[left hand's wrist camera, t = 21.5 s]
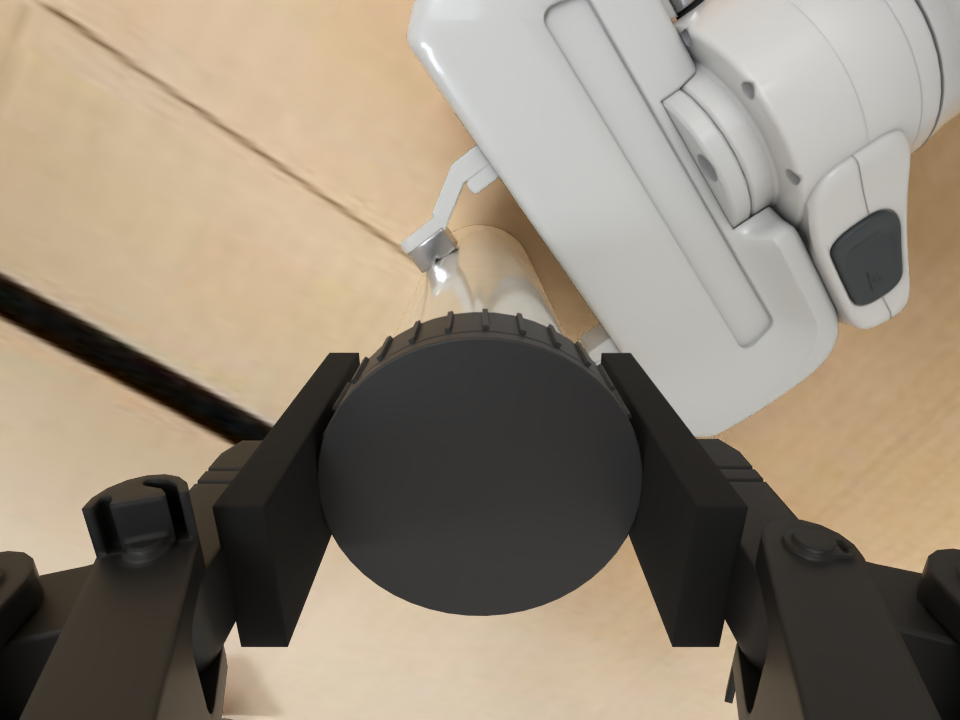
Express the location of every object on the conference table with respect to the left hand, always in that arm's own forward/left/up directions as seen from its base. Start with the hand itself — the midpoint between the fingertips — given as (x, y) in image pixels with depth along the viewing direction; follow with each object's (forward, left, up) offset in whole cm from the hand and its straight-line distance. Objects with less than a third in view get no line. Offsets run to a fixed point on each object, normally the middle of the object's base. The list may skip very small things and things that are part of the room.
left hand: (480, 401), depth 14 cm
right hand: (-1, 0, -9) cm, 9 cm away
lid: (0, 0, +4) cm, 4 cm away
